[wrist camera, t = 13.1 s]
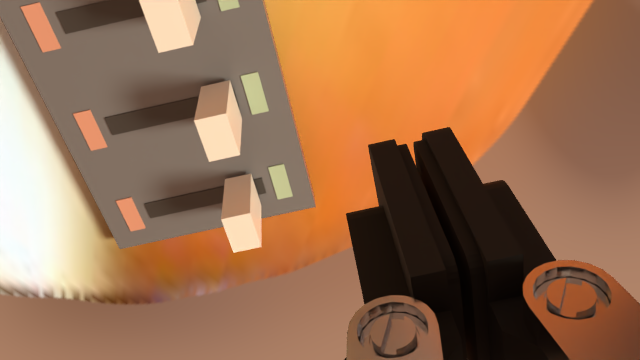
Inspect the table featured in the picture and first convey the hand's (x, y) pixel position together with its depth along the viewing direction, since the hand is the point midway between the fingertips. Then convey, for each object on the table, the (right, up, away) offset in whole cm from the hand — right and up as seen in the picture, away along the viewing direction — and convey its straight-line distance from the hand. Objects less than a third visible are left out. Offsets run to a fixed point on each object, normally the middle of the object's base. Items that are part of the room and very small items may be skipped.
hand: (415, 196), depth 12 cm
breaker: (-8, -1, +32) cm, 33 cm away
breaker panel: (-12, +6, +30) cm, 33 cm away
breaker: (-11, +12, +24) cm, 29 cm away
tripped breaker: (-9, +6, +28) cm, 30 cm away
